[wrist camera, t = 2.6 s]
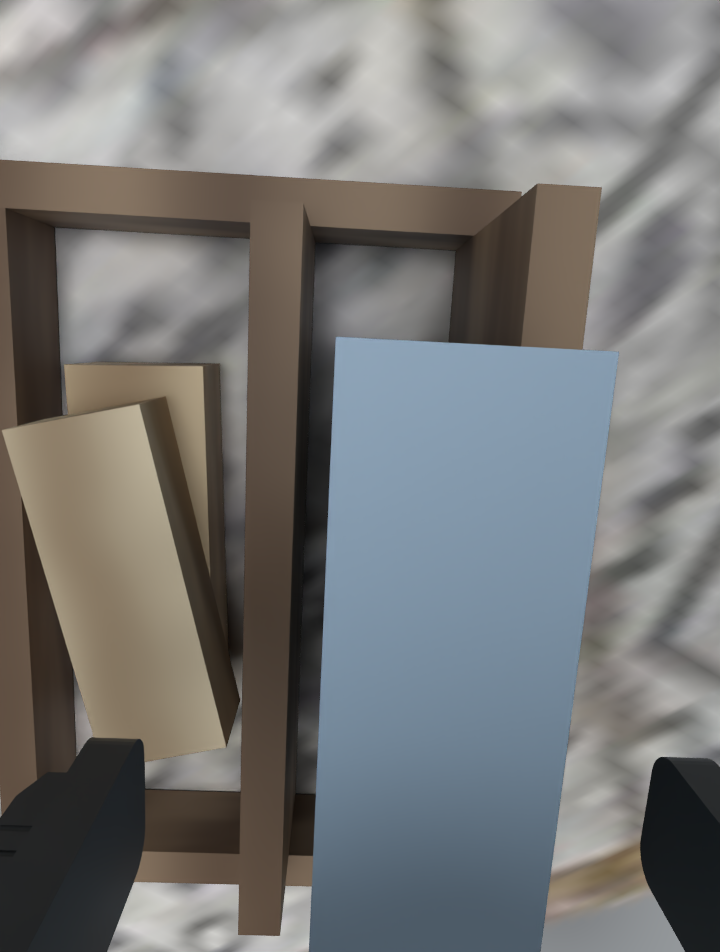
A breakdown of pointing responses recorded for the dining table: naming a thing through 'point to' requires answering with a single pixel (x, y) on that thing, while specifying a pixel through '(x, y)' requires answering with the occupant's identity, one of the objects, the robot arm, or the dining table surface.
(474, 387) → the tall panel
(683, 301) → the dining table surface
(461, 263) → the rack
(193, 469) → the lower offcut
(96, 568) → the upper offcut
